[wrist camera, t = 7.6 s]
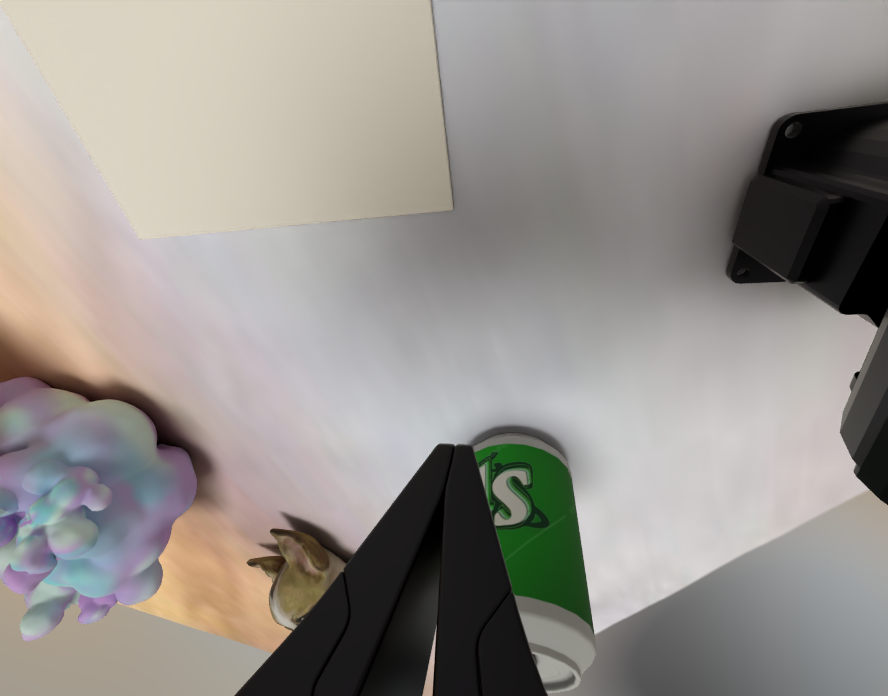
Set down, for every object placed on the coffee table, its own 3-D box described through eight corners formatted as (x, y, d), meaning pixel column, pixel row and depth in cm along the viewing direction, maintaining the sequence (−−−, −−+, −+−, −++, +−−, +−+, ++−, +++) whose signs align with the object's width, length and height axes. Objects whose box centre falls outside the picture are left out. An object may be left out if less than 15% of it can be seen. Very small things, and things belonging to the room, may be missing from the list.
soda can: (565, 420, 24) (599, 648, 14) (572, 491, 28) (602, 707, 18) (453, 427, 26) (415, 630, 16) (474, 492, 30) (454, 687, 20)
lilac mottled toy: (219, 576, 37) (-12, 814, 19) (18, 541, 38) (-381, 737, 20) (237, 378, 35) (6, 433, 17) (28, 347, 36) (-394, 370, 18)
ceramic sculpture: (339, 687, 38) (206, 624, 36) (370, 596, 45) (261, 539, 43) (385, 670, 32) (230, 593, 30) (412, 569, 39) (289, 501, 37)
